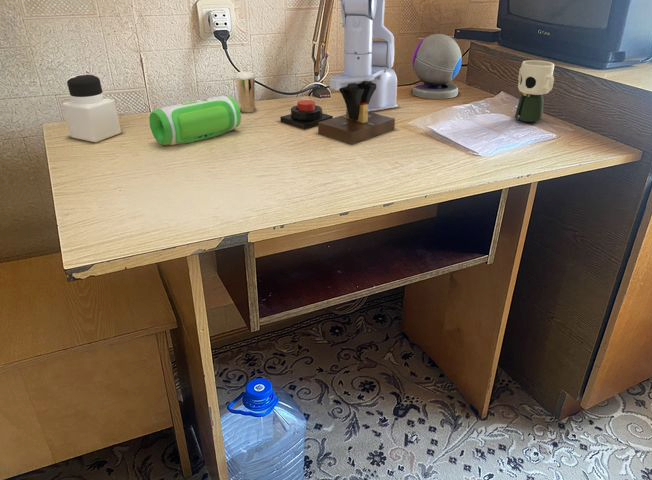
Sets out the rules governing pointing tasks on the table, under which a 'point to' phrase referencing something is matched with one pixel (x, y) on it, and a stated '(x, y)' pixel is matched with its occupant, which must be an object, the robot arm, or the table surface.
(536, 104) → the character mug
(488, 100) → the table surface
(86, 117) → the medicine bottle
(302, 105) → the release button
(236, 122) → the speaker
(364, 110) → the tan red block
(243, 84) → the milkshake
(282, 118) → the black button base
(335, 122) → the lock plate
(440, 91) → the webcam
